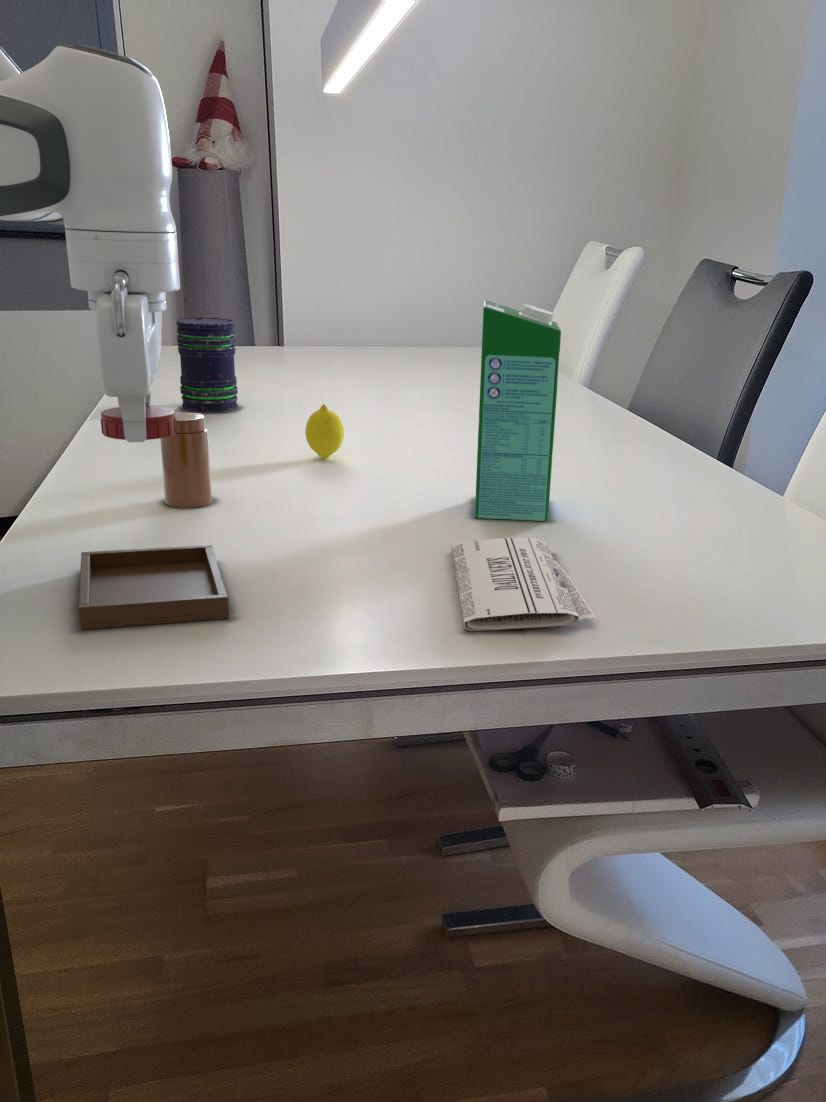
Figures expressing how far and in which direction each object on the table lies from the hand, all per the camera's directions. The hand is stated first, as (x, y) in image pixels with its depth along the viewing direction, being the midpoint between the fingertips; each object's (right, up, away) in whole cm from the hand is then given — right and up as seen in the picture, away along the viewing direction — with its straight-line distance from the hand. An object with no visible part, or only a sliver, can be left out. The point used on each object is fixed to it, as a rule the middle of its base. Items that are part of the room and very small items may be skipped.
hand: (139, 431), depth 92 cm
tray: (-1, -14, +6) cm, 16 cm away
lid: (0, +1, -1) cm, 1 cm away
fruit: (+8, +8, +60) cm, 61 cm away
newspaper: (+34, -14, +12) cm, 39 cm away
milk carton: (+34, -2, +39) cm, 52 cm away
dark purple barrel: (-18, +23, +92) cm, 96 cm away
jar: (-6, -1, +36) cm, 36 cm away
